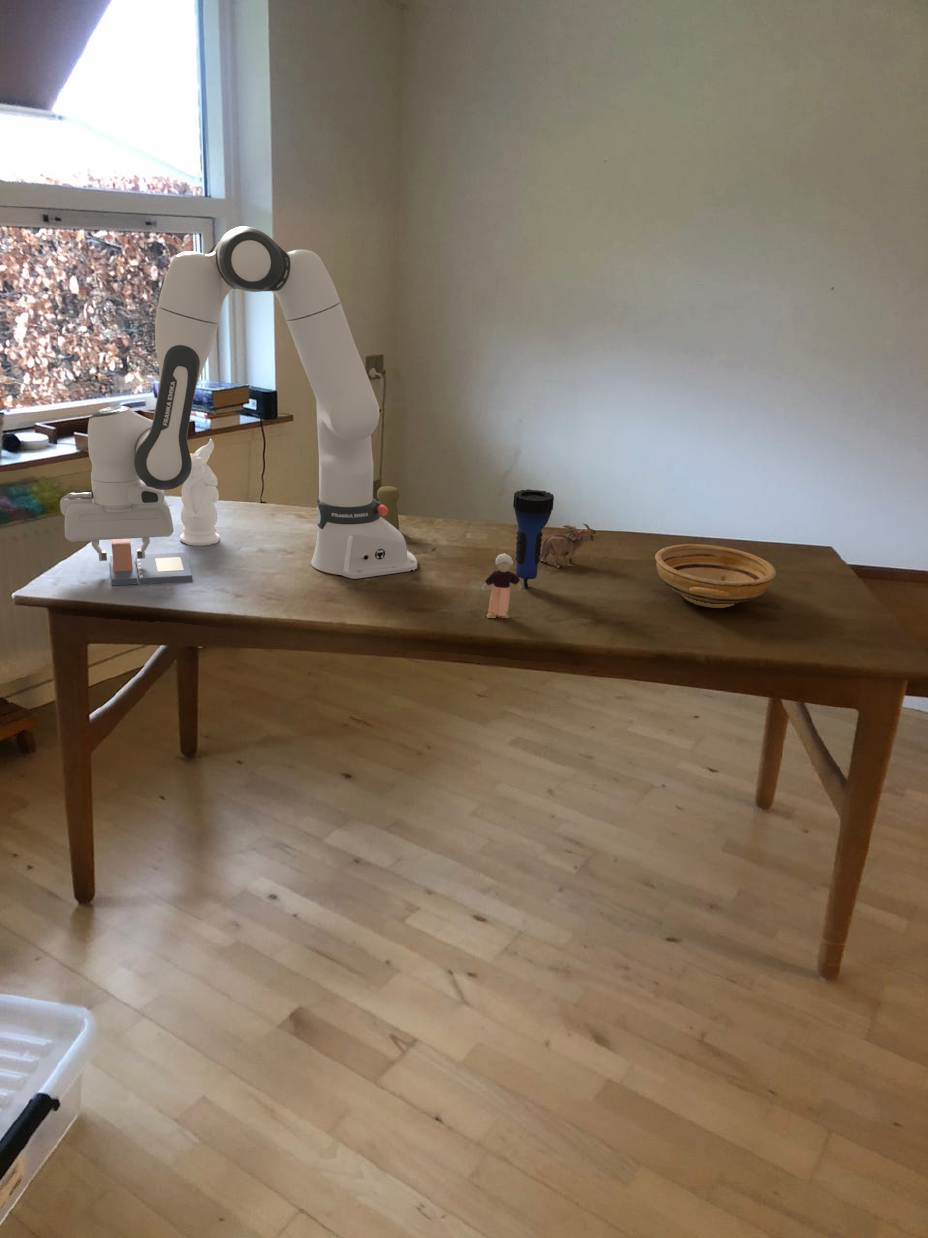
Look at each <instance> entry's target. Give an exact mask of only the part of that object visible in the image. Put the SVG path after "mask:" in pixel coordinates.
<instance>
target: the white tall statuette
mask: <svg viewBox="0 0 928 1238" xmlns="http://www.w3.org/2000/svg"><path fill="white" fill-rule="evenodd" d="M214 444H215V443H214V441H213V439H212V438H209V441H208V443H207V444H206V445H205V444H204V445H203V446H201V447H199V448H198V449H196V451H195V452H194V453H190V456H191V462H192V468H191V472H190V475H189V477H188V478H187V480H186V481H185V482H184V483H183V484H182V487H181V502H182V504H183V505H182V507H181V510H180V511H181V512H180V520H181V522H182V524H183V529H182V531H183V533H181V534H180V536H179V538H180V539H179V540H180V542H182V543H184V544H186V545H189V546H195V547H197V546H198V547H201V546H202V547H203V546H204V547H205V546H211V545H213V544H217V543H219V542H220V538H221V537H220V535H219V533H217V528H216V526H217V525H216V524H217V522H218V511H217V508H216V505H215V503H217V502H218V501H219V497H220V493H219V490H218V488H217V486H218V485H219V484H218V478H217V476H216V474H215V473H214V472H213V470H212V469H211V467H210V466H209V464H207V463H208V461H209V460H210V455H211V454H212V453H213V451H214V448H215V445H214ZM218 541H219V542H218Z"/></svg>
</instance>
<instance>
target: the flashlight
mask: <svg viewBox="0 0 928 1238" xmlns="http://www.w3.org/2000/svg"><path fill="white" fill-rule="evenodd" d="M554 501H555V496H554V494H553V493H551V492H549V491H548V492H547V491H545V490H538V489H530V488H529V489H521V490H517V491H516V492H514V493H513V504H512V506H513V507H512V508H513V509H514V515H515V517H516V522H517V526H518V528H517V532H516V543H515V545H516V547H515V555H516V557H515V561H516V564H515V565H516V568H515V575H516V576H517V577H518V578H519V579H523V588H524V589H528V588H529V584H528V581H529V580H534V579H536V578H537V576H538V569H539V563H540V562H541V559H540V558H539V557H540V555H541V552H542V541H543V538H542V537H543V532H542V531H543V529H544V528H545V527H546V525H547V524H548V521H549V520H550V518H551V514H552V512H553V511H552V510H553V509H554Z"/></svg>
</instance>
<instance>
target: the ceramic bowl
mask: <svg viewBox="0 0 928 1238" xmlns="http://www.w3.org/2000/svg"><path fill="white" fill-rule="evenodd" d="M654 559H655V561H656V565H655V566H656V570H657V573H658V575H659V577H660V579H661V580H662V582H663V583H664V585H665V586H667V587H668V588H670V589H671V590H673V591H674V592H676V593H678V594H680V595H681V596H682V595H684V596H686V597H688V598H691V599H693V600H696V601H700V602H704V603H710V604H733V603H736V604H737V603H743V602H748V601H751V600H754V599H756V598H758V597H760V596H761V595H763V594H764V593H765V592H766V591H767V590H768V589H769V587H770V585H771V583H772V582H773V579H774V578H775V577H776V574H777V571H776V569H775V567H774V566H773V564H771V563H770V562H769V561H767V560H765V559H764V558H762V557H759V556H757V555H755V554H753V553H749V552H747V551H743V550H739V549H735V548H731V547H727V546H722V545H721V546H720V545H713V544H702V543H701V544H698V543H696V544H694V543H688V544H687V543H686V544H685V543H684V544H675V545H671V546H666V547H664V548H662V549H660V550H658V551H657V552H656V553H655V556H654Z"/></svg>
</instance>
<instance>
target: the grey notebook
mask: <svg viewBox="0 0 928 1238" xmlns="http://www.w3.org/2000/svg"><path fill="white" fill-rule="evenodd" d="M135 566H136V569H137V570H136V572H137V579H138V582H139V585H148V584H151V585H153V584H162V583H163V584H164V583H180V582H182V583H183V582H193V574H192V570H191V567H190V564H189V560H188V557H187V554H186V552H168V553H152V554H150V553H149V554H145V559H137V554H135Z"/></svg>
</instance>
